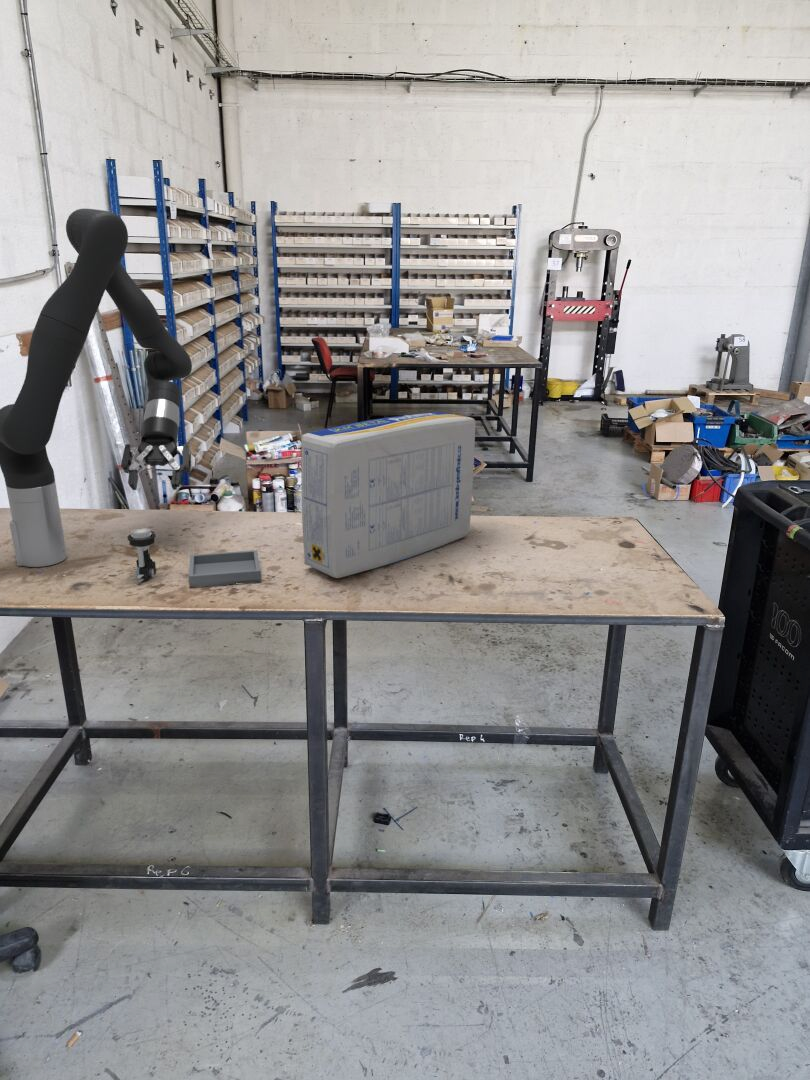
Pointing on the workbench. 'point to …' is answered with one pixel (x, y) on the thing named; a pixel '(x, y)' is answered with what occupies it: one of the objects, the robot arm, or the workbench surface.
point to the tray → (224, 568)
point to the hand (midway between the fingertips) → (153, 488)
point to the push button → (143, 552)
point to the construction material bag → (385, 490)
